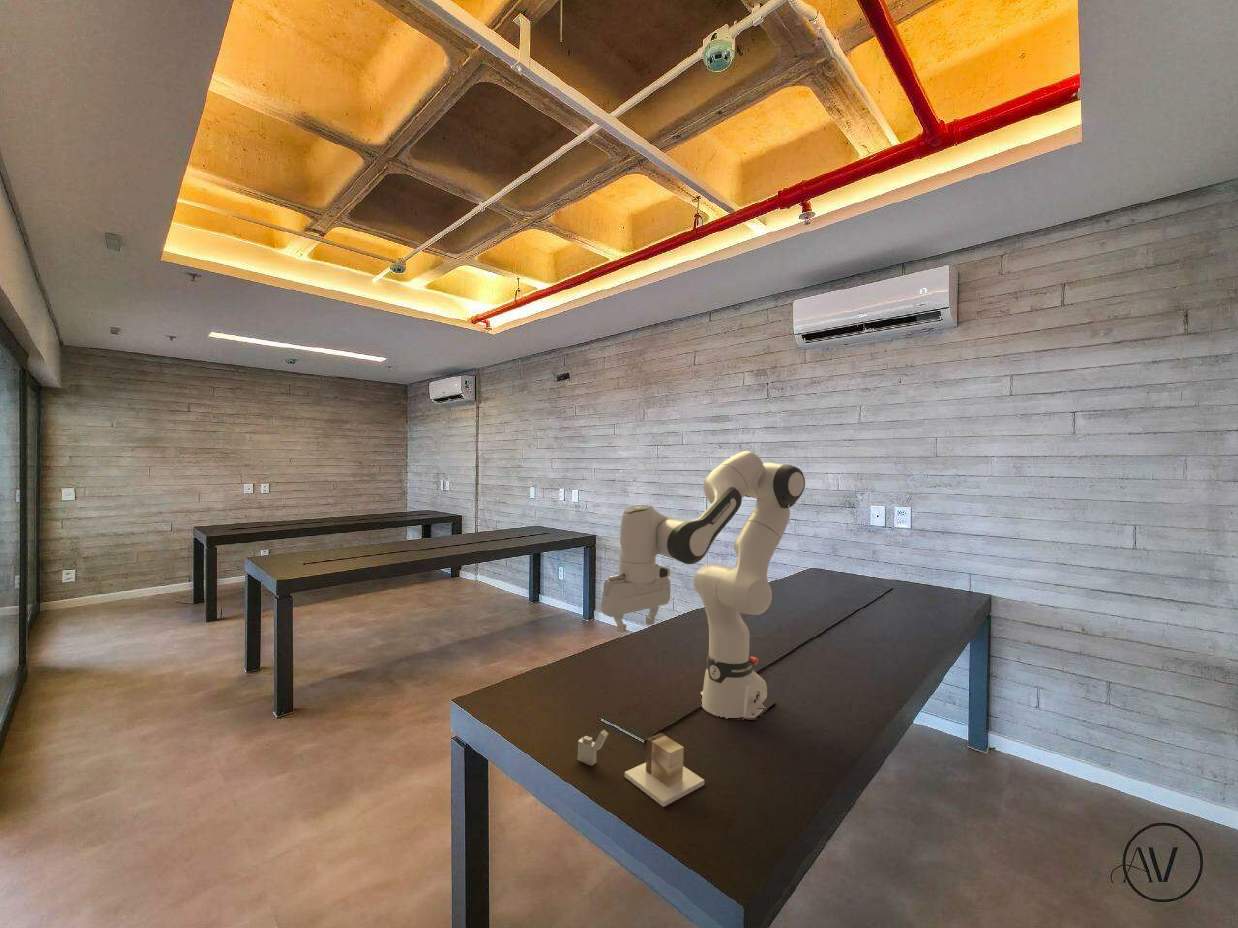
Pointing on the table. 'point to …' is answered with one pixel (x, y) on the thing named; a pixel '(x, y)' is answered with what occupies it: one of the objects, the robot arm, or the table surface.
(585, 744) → the lighter
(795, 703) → the table surface
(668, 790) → the tile
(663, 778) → the block
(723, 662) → the robot arm
